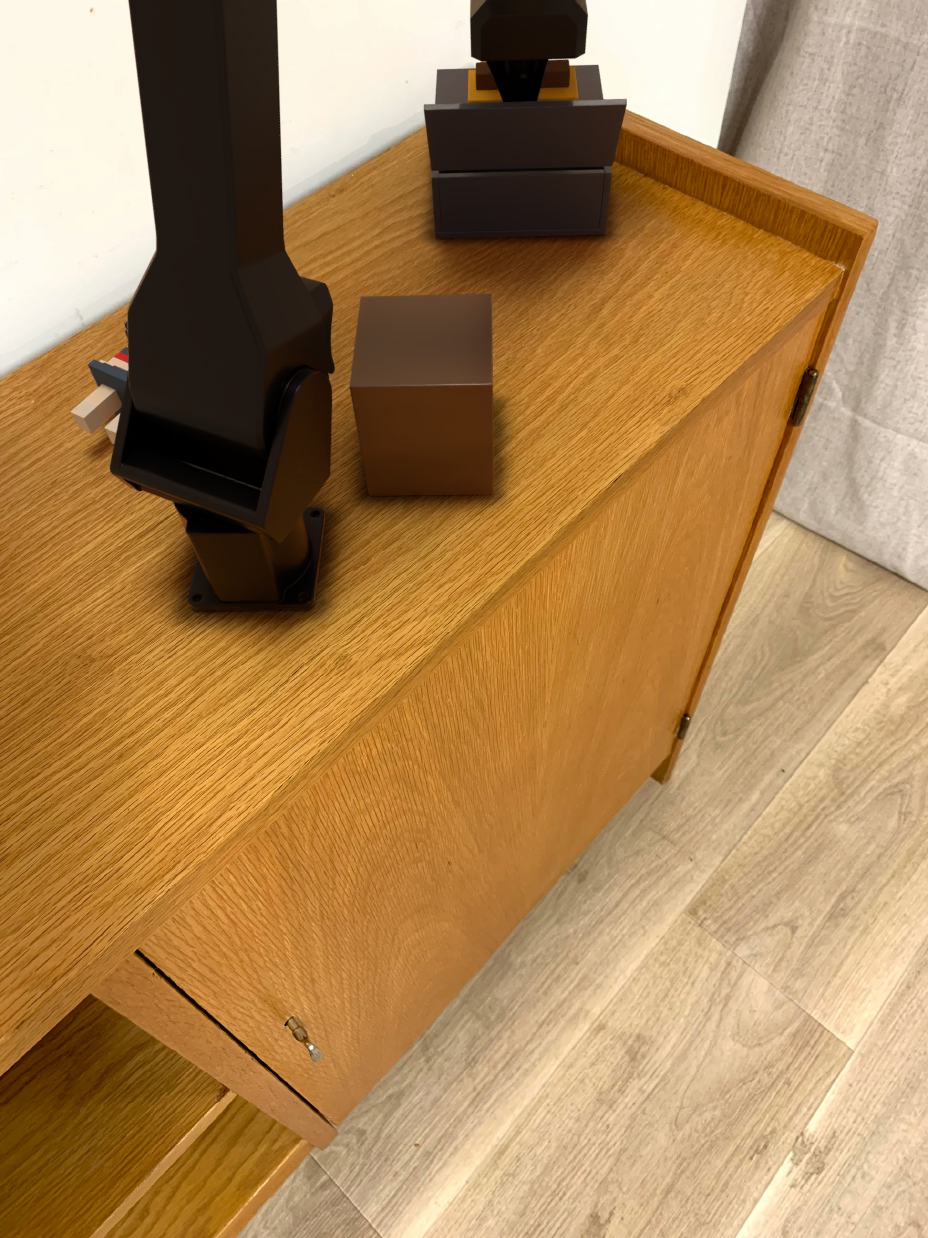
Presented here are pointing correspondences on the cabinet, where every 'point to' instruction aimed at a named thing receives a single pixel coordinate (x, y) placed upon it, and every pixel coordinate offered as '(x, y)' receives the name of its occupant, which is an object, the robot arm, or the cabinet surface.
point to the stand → (425, 394)
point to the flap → (523, 134)
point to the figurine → (104, 394)
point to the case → (519, 185)
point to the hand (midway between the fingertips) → (521, 110)
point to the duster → (554, 88)
